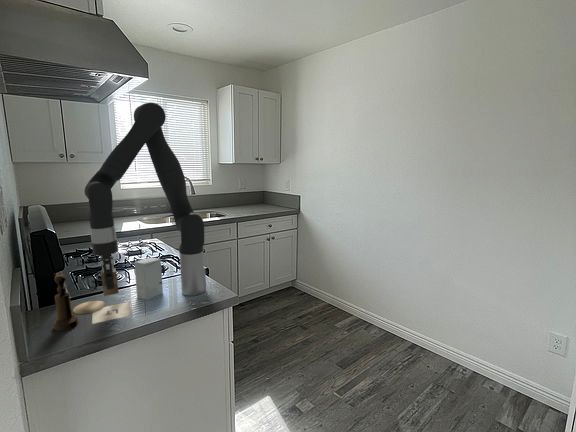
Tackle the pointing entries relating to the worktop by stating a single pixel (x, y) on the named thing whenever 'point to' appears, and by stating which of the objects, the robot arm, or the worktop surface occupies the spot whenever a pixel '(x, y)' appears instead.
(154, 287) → the skincare box
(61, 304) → the brown tall tapered piece
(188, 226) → the robot arm
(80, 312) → the cork coaster
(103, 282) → the walnut block
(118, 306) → the tile
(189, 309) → the worktop surface
